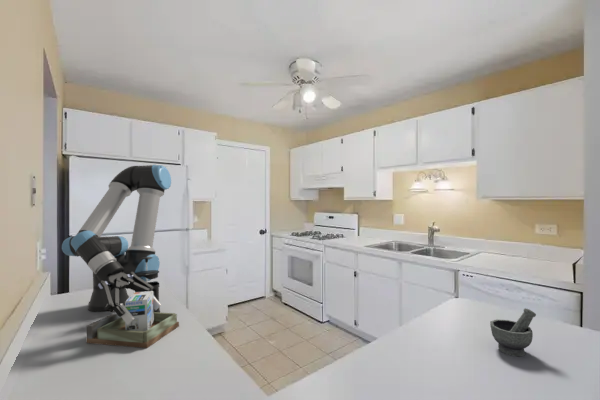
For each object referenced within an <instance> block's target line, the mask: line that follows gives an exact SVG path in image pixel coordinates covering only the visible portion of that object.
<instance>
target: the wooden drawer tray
mask: <svg viewBox="0 0 600 400" xmlns="http://www.w3.org/2000/svg"><path fill="white" fill-rule="evenodd" d="M177 318H178V313H174V312H161V311H160V312H154V321H153V323H152V325H151V327H150V329H148V330H147V331H131V330H125V321H124V320H123V319H122V318H121V317H119V316H118V314H117V313H116V312H113V313H111V314H109V315H107V316H105V317H102V318H100V319H97V320H96V321H94V322H90V323H89V324H87V325H86V326H85V327H86V332H85V333H86V344H94V345H95V344H96V345H106V346H117V347H118V346H119V347H127V348H128V347H129V348H142V349H148V348H149V347H151V346H152V345H154V344H155V343H157V342H158V341H160V340H161V339H162V338H164V337H166V336H167V335H168V334H170V333H171V332H173V331H174V330H176V328H178V327H180V322H179V321H178V320H177Z"/></svg>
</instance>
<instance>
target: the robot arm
mask: <svg viewBox="0 0 600 400" xmlns="http://www.w3.org/2000/svg"><path fill="white" fill-rule="evenodd" d="M171 185H172V177H171V174H170V172H169V170H168V169H167V167H166V166H164V165H162V164H158V165H157V164H150V165H149V164H148V165H131V166H128V167H126V168H124V169H123V170H121V171H120V172H119V173H118V174H116V176H114V177H113V179H112V180H111V181H110V182H109V184H108V190H107V191H106V192H105V194H104V195H103V197H102V198H101V200H100V201H99V202H98V204H97V205H96V206H95V208H94V209H93V211H92V212H91V213H90V215H89V216H88V218H86V221H85V222H84V223H83V224H82V226H81V227H80V229H79V230H78V232H77V233H76V235H74V236H69V237H67V238H66V239H64V240H63V242H62V244H61V251H62V253H64V254H65V255H66V256H69V257H76V258H77V257H80V258H81V259H82V260H83V261H84V263H85V264H86V265H87V267H88V268H90V270H91V271H92V292H91V296H90V300H89V301H88V303H87V309H88V311H90V312H105V311H106V312H107V311H110V313H111V312H113V313H117V314H118V316H119V317H121V318H122V319H123V320H124V321H125V322H126V324H127V325H129V324H130V323H131V322H132V321H133V320H134V319H135V318H134V317H133V316H132V315H131V313H130V312H129V311H128V310H127V308H126V307H125V301H126V300H127V299H128V298H129V297H130V296H129V295H128V292H127V290H131V291H134V292H135V291H136V292H146V291H151V290H152V289H153V286H151V285H150V284H148V283H147V282H151V280H152V279H147V282H146V277H138V276H136V274H135V273H137V272H141V271H146V262H145V259H141V258H143V257H152V258H151V259H148V262H147V270H158V271H159V268H160V263H161V262H160V258H159V256H157V254H156V250H155V249H154V247H153V246H154V239H155V233H156V226H157V220H158V219H157V218H158V213H159V208H160V207H159V206H160V201H161V200H160V199H161V198H162V197H163V196H164V195H165V190H169V189H170V187H171ZM134 191H136V192H137V194H138V195H139V196H138V203H137V208H136V213H135V214H136V215H135V219H134V226H133V232H132V235H131V236H132V238H131V243H130V246H129V241H128V239H126V238H125V237H123V236H118V235H115V236H114V235H113V236H102V234H103V233H104V232H105V231H106V229H107V227H108V225H109V224H110V223H111V221H112V220H113V217H115V215H116V213H117V211H118V210H119V209H120V207H121V205H122V204H123V203H124V201H125V199H126V198H128V197H129V196H131V195H132V193H133V192H134ZM161 306H162V304H161V303H160V300H159V301H158V300H157V299H156V297H155V296H154V310H155V311H156V310H157V309H158V308H159V307H161Z"/></svg>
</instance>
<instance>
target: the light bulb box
mask: <svg viewBox="0 0 600 400" xmlns="http://www.w3.org/2000/svg"><path fill="white" fill-rule="evenodd" d="M125 307H126V308H127V310H128V311H129V312H130V313H131V315H132V316H133V317H134V318H135V319H134V320H133V321H132V322H131V323H130V324H129V325H127V324H126V322H125V330H131V331H147V330H148V329H150V327H151V325H152V323H153V321H154V294H153V291H145V292H135V291H134V292H132V293H131V295H130V296H129V298H128V299H127V300H126V301H125Z"/></svg>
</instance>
